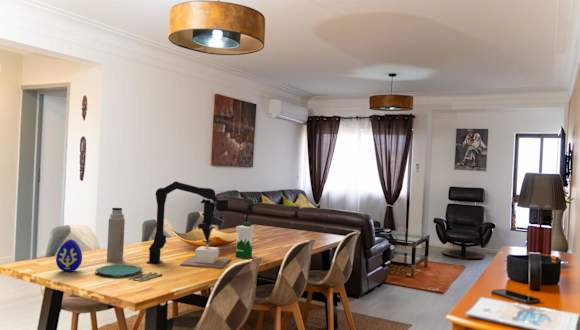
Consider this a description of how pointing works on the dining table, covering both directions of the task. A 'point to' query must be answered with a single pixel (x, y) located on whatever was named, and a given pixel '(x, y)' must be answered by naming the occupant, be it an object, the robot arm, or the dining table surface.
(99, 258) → the dining table surface
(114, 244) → the thermos bottle
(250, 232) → the milk carton
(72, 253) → the ornament
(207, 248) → the plunger
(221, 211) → the robot arm
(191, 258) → the board
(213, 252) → the white block with hole
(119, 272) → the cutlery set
